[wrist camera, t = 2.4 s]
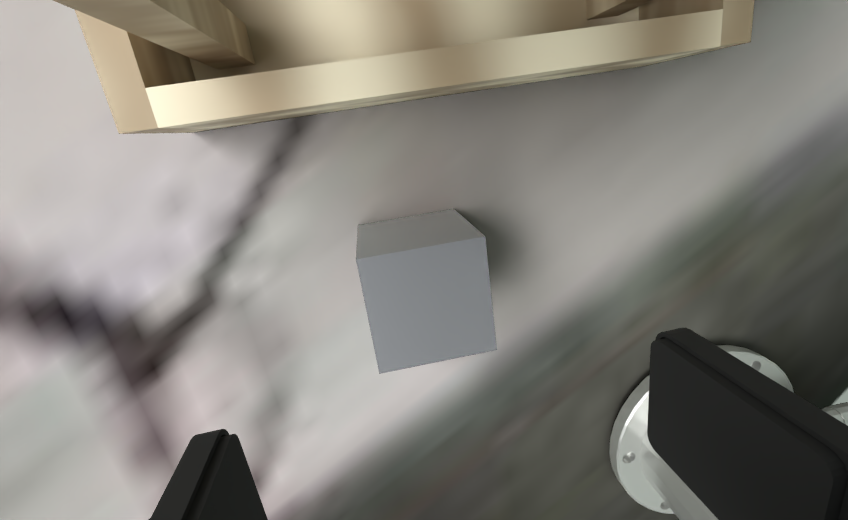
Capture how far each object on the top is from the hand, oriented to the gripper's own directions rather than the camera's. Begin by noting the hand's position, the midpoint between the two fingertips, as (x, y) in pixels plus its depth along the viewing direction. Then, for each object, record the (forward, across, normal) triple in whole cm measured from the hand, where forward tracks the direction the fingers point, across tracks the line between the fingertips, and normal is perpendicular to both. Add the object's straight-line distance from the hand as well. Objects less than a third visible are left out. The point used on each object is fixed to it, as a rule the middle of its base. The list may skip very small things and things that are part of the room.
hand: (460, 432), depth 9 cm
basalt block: (+14, -1, +1) cm, 14 cm away
